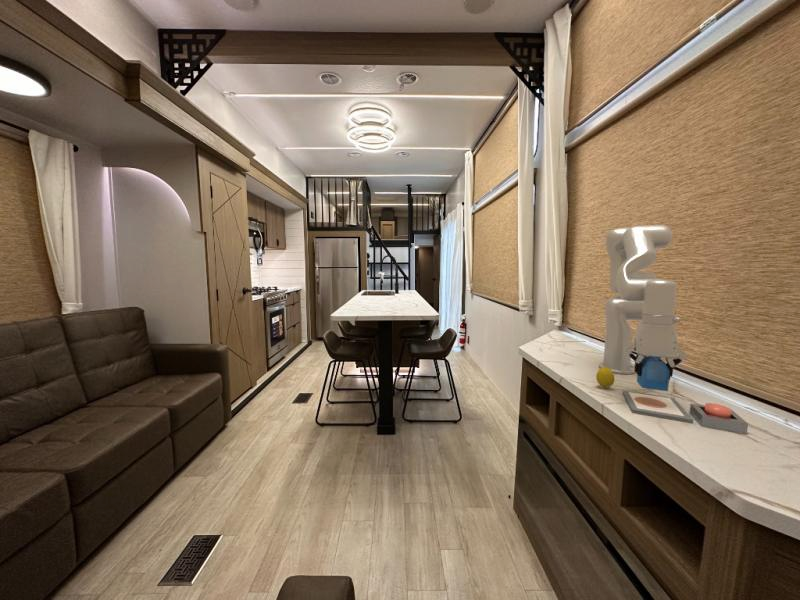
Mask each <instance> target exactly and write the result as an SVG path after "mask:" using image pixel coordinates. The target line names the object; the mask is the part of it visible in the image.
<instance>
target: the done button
mask: <svg viewBox="0 0 800 600" xmlns="http://www.w3.org/2000/svg"><path fill="white" fill-rule="evenodd" d="M704 406H705V410H704V412H705V413H706V414H707V415H711V416H717V417H723V418H729V419H730V418H731V410H732V409H731V408H729V406H728V407H727V406H724V405H722V404H717V403H711V402H709V403H705V404H704Z"/></svg>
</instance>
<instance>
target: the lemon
mask: <svg viewBox="0 0 800 600" xmlns="http://www.w3.org/2000/svg"><path fill="white" fill-rule="evenodd" d="M595 377H596V382H597V384H599V386H601V387H602V388H603V389H607V388H609V387H612V385H613V384H614V383H615V373H613V371H612V370H611V369H609V368H608V367H603V368H599V369H598V370H597V372H596V376H595Z"/></svg>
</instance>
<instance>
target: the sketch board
mask: <svg viewBox="0 0 800 600" xmlns="http://www.w3.org/2000/svg"><path fill="white" fill-rule="evenodd" d="M621 392H622V393H621V394H622V395H623V397H624V399H625V402H626V403H627V406H628V407H629V410H630V412H631V413H633V414H637V415H642V416H648V417H653V418H654V417H655V418H660V419H665V420H670V421H671V420H672V421H676V422H683V423H688V424H694V418H693V417H691V415H690V413H688V412H687V411H686V409H684V407H682V405H681V404H680V403H679V402H678V401H677V399H675V398H674V397H670V396H663V395H658V394H657V395H656V394H650V393H645V392H637V391H630V390H624V389H623V390H622V391H621Z"/></svg>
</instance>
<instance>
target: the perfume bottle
mask: <svg viewBox="0 0 800 600" xmlns="http://www.w3.org/2000/svg"><path fill="white" fill-rule="evenodd" d="M641 364H642V371H641V376H638V375H637V374H636V382H637V384H638V385H639V386H640V387H641V388H642V389H646V390H655V391H663V392H668V391H669V382H670V380H669V373H670V371H669V369H668V368H667V366H666V364H667V363H666V362H665V361H664V360H662V359H661V357H651V356H644V358H643V359H642V360H641Z"/></svg>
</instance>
